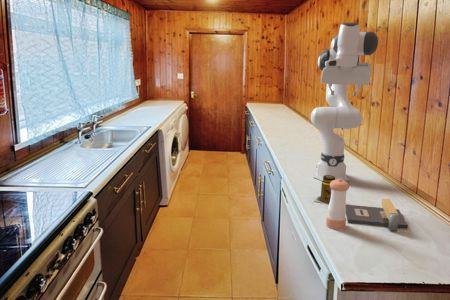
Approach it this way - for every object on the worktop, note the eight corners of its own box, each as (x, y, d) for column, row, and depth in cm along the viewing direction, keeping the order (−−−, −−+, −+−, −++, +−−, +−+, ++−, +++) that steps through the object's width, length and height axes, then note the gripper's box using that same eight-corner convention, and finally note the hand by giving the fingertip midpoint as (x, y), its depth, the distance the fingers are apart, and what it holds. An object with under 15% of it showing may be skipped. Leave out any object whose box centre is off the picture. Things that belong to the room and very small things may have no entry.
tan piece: (398, 231, 140) (400, 216, 139) (388, 230, 141) (390, 215, 140) (388, 212, 158) (390, 199, 156) (380, 211, 159) (382, 198, 157)
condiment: (332, 205, 166) (334, 179, 163) (313, 201, 170) (315, 176, 167) (336, 200, 172) (338, 175, 169) (318, 196, 176) (320, 172, 173)
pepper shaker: (330, 220, 151) (334, 174, 146) (348, 225, 146) (353, 178, 142) (322, 225, 145) (326, 179, 141) (340, 231, 141) (345, 183, 136)
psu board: (344, 207, 164) (344, 203, 163) (398, 212, 159) (398, 208, 159) (347, 222, 149) (348, 218, 148) (407, 228, 144) (408, 224, 144)
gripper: (371, 62, 159) (367, 95, 163) (321, 61, 164) (319, 93, 167) (373, 62, 153) (369, 96, 157) (322, 62, 158) (319, 94, 161)
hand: (343, 95), depth 162 cm, fingers open, 8 cm apart
